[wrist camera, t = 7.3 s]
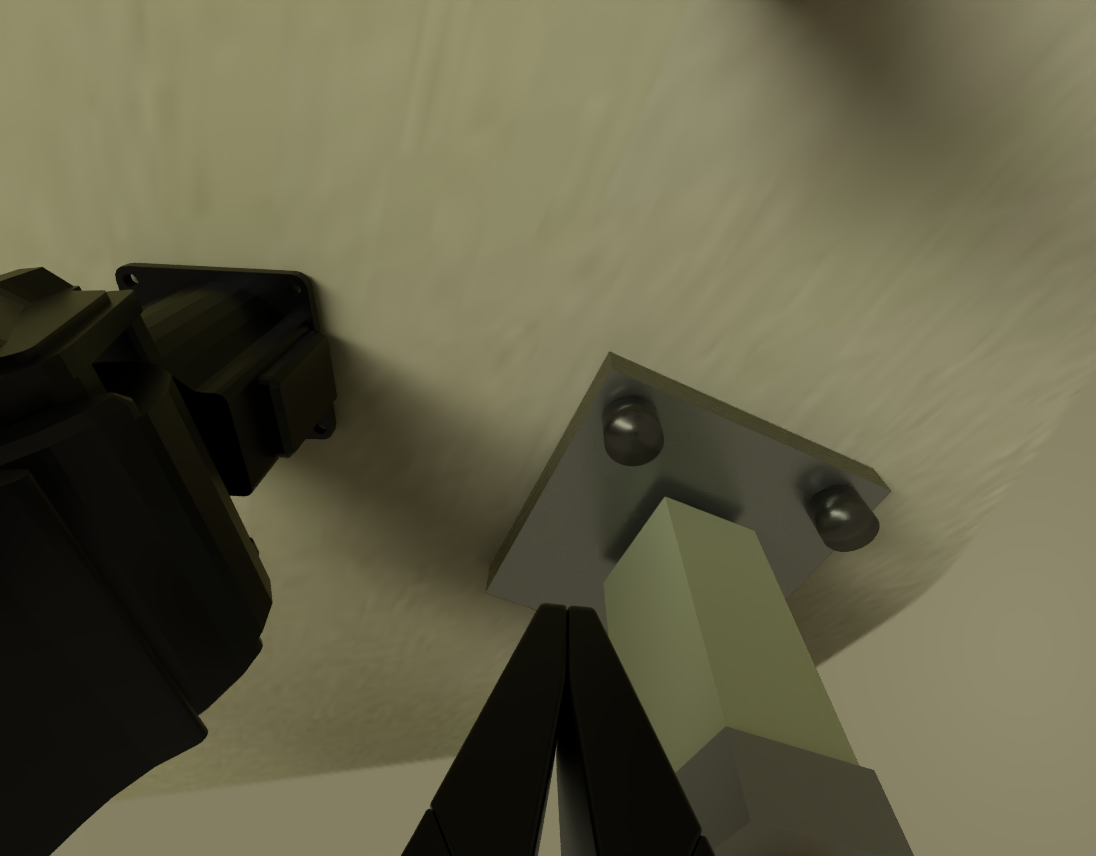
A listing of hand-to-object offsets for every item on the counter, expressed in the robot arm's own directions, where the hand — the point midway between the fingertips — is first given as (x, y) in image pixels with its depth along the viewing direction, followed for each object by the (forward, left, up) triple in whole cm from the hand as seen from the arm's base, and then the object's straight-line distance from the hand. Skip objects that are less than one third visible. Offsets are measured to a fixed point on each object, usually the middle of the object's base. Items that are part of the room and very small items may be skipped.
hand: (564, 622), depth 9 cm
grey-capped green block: (+5, -9, -11) cm, 15 cm away
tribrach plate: (+5, -9, -13) cm, 17 cm away
